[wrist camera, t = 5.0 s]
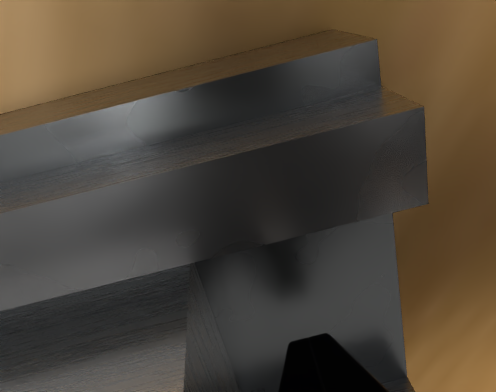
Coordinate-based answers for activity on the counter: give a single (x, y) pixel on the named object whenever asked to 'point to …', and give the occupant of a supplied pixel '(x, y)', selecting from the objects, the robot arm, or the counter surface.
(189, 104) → the slot board
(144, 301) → the grey cube
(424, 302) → the counter surface
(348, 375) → the robot arm
